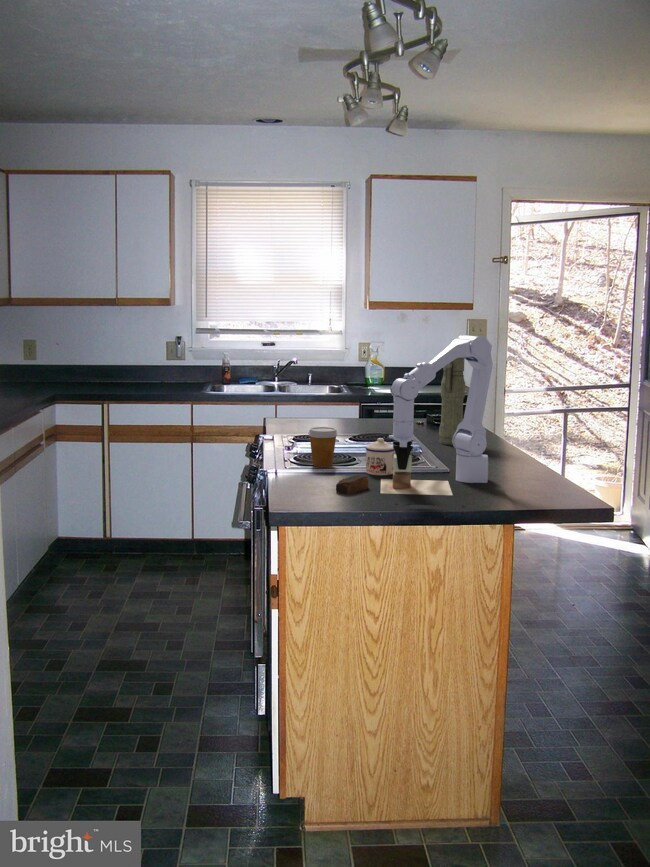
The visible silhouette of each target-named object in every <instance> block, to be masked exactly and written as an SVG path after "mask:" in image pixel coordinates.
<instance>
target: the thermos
mask: <svg viewBox="0 0 650 867" xmlns="http://www.w3.org/2000/svg"><path fill="white" fill-rule="evenodd" d="M442 369H443V375H442V379H441V382H440V384H441V385H440V398H441V416H440V418H441V419H440V425H439V428H438V429H439V430H438V431H439V432H438V436H439V441H438V442H439V444H441V445H445V446H453V443H452V439H453V436H454V434H455V432H456V431H457V427H458V425H459V424H460V423H461V422H462V421H463V419H464V415H463V414H464V413H463V411H464V399H465V395H466V393H465V392H466V381H465V374H464V371H465V359H464V358H463V357H462V358H456V359H455V360H453V361H452V362H450V363H449V364H447V365H446V366H444V367H443V368H442Z"/></svg>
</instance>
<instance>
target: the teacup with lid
mask: <svg viewBox="0 0 650 867" xmlns="http://www.w3.org/2000/svg"><path fill="white" fill-rule="evenodd" d="M384 440H385V439H384V438H383V437H379V438H377V440H376V441H374V442H372V443H370V444H367V445H366V446H365V450H366V452H365V455H366V456H365V473H366V474H368V475H372V476H389V475H393V471H394V454H395V450H394V448H393V444H390V443H388V442H387V441H384Z"/></svg>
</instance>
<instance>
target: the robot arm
mask: <svg viewBox="0 0 650 867" xmlns="http://www.w3.org/2000/svg"><path fill="white" fill-rule="evenodd" d="M492 347H493V345H492V344H491V342H490V341H489V339H488V338H487V337H486V336H483V335H482V336H481V335H468V334H460V335H459V336H458V337H457V338H455V339H453V340H452V341H451V343H450V344H449V345H447V347H445V348H444V349H443V350H442V351H441V352H440V353H439V354H437V355H436V356H435V357H434V358H432V359H431V360H430V361H429V362H425V361H423V362H418V363H417V364H416V365H415V366H416V367H415V368H413V369H412V370H410V372H405V373H404V374H403V377H399V378H396V379H395V380H394V381H393V382H392V385H391V387H390V388H389V392H390V394H391V396H393V415H392V416H393V418H392V419H393V420H392V421H393V422H392V423H393V425H392V427H393V428H392V434H389V435H388V439H392V440H393V441H392V445H393V448H394V454H396V456H397V464H398V469H399V470H406V468H407V463H408V458H409V455H411V453H412V450H413V448H414V446H413V445H412V444H413V440H414V439H415V438H414V414H415V412H414V410H415V409H414V408H415V399H416V398H417V397H418V394H419V392H420V391H421V390H422V389H423V388H424V387H425V386H426V385H428V384H429V383H431V382H432V381H433V380H435V378H436V375H437V374H436V373H437V372H439V371H440V370H442V369H443V367H444V366H446V365H447V364H449V363H450V362H452V361H453V360H455V359H456V358H462V357H463V358H464V360H466V361H467V362H468V364H469V365H470V367H472V371H471V377H470V382H469V388H468V393H467V400H466V404H465V409H464V413H463V414H464V415H463V419H462V422H461V423H460V424H459V425H458V427H457V431H456V432H455V434H454V436H453V439H452V443H453V445H452V446H453V447H454V449H455V452H456V461H455V463H456V464H455V481H457V482H460V483H468V484H474V483H476V484H479V483H480V484H481V483H482V484H487V483H488V480H489V479H488V478H489V456H488V454H483V453H484V452H485V451H486V448H487V445H488V444H487V437H486V436H487V430H486V429H485V427H484V425H483V420H484V419H483V418H484V414H485V408H486V403H487V397H488V394H489V387H490V382H491V376H492V372H493V371H492V370H493V367H494V366H493V358H492Z"/></svg>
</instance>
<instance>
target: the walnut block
mask: <svg viewBox="0 0 650 867" xmlns="http://www.w3.org/2000/svg"><path fill="white" fill-rule="evenodd" d="M411 473H412V471H411V472H394V471H393V474H392V479H393V488H408V489H410V486H411V480H412V479H411V477H412V474H411Z"/></svg>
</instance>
